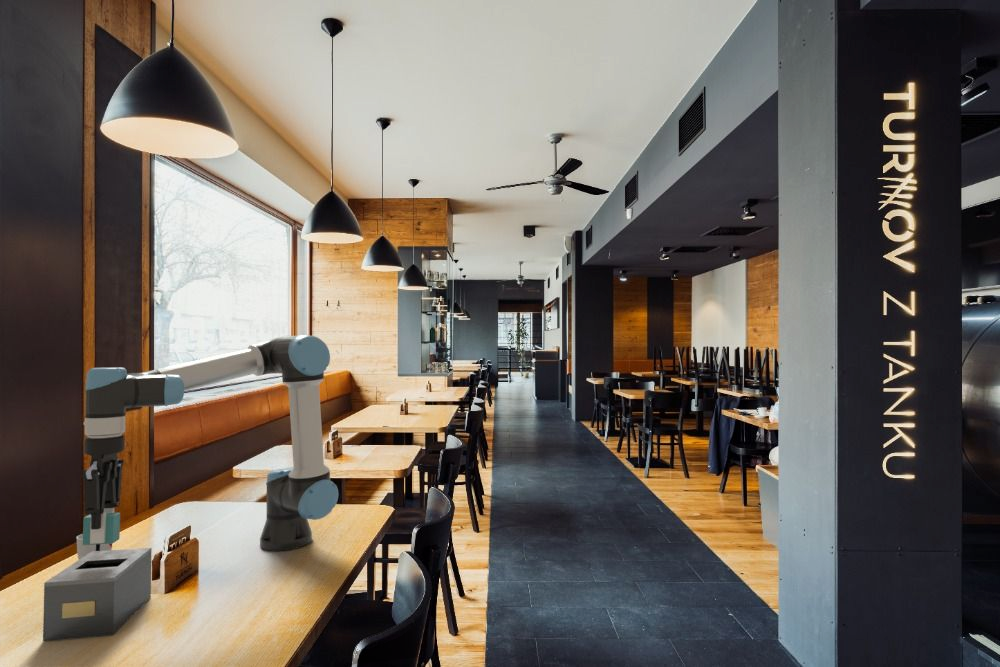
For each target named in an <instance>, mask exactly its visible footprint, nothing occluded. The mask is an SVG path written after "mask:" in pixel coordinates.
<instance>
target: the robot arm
mask: <svg viewBox="0 0 1000 667" xmlns="http://www.w3.org/2000/svg"><path fill="white" fill-rule="evenodd" d="M330 361H331V353H330V349H329V348H328V346H327V344H326V343H325V342H324V341H323V340H322V339H321V338H319V337H317V336H315V335H309V334H299V335H284V336H279V337H275V338H272V339H269V340H266V341H262V342H259V343H255V344H251V345H248V347H247V348H246V349H244V350H242V349H241V350H239V351H235V352H230V353H225V354H219V355H214V356H211V357H207V358H202V359H198V360H193V361H189V362H184V363H178V364H174V365H169V366H166V367H160V368H156V369H153V370H147V371H146V370H145V371H143V372H131V373H128V372H127V369H126V368H125V367H92V368H90V369H89V370H87V373H86V380H85V387H84V390H85V406H84V410H85V411H84V412H85V413H84V414H85V415H84V416H85V417H84V421H83V424H82V425H84V435H85V436H87V437H85V438H84V439H83V454H85V455H87V456H90V457H91V458H90V462H89V468H88V469H83V470H82V472H81V475H82V479H83V480H82V481H83V508H84V514H85V515H86V516H88V515H91V525H90V544H95V543H104V542H105V535H106V513H115V508H119V507H120V506H121V503H120V501H121V493H122V492H121V490H122V489H121V488H122V476H123V467H124V463H125V460H124V459H123V458H122V459H121V458H120V459H119V456H118V454H119V453H123V452H124V451H125V445H126V442H125V441H126V436H125V435H124V433H125V432H126V410H127V409H128V408H129V409H130V408H132V409H133V408H141V407H144V408H145V407H146V408H147V407H160V406H161V407H162V406H164V407H168V406H173V405H174V406H175V405H178V404H180V403H181V402H182V401H183V398H184V395H185V392H187V391H190V390H195V389H199V388H202V387H206V386H207V387H208V386H210V385H215V384H219V383H223V382H227V381H231V380H235V379H239V378H243V377H246V376H247V377H248V376H250V375H254V376H256V377H259V376H264V375H272V374H281V377H282V381H281V382H282V384H283V385H285V386H287V388H288V399H289V401H288V402H289V414H290V415H289V418H290V420H289V421H290V432H291V434H290V435H291V448H292V449H291V450H292V451H291V452H292V460H293V461H292V464H293V466H292V467H290V466H289V467H283V468H279V469H278V468H277V469H274V470H270V471H269V472H268V474H267V477H266V483H265V485H266V518H265V519H266V520H265V523H264V525H263V529H262V531H261V535H260V538H259V547H260V548H261V549H263V550H266V551H270V552H271V551H274V552H276V551H277V552H280V551H289V550H294V549H300V548H302V547H304V546H307V545H308V544H309V543H311V542H312V540H313V538H312V537H313V532H312V529H311V526H310V522H309V520H312V521H313V520H316V521H317V520H321V519H324V518H325V517H327V516H328V515H329V514H331V512H332V510H333V509H334V508H335V507H336V506H337V503H338V500H339V489H338V486H337V484H335V483H334V482H333V481H332V480H331V470H330V467H328V465H326V464H325V460H324V458H325V457H324V445H323V430H322V428H323V426H322V414H321V413H322V412H321V397H320V395H321V394H320V393H321V392H320V385H321V383H322V382H323V381H324V380H325V373H324V372H325V371H326V370H327V368H328V366H329V365H330Z"/></svg>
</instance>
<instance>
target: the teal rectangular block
mask: <svg viewBox="0 0 1000 667" xmlns="http://www.w3.org/2000/svg"><path fill="white" fill-rule="evenodd" d="M82 524H83V525H82V526H83V527H82V534H83V545H94V544H90V525H91V515H86V516H84V517H83V523H82ZM120 530H121V512H114V513H106V535H105V542H104V543H95V544H112V545H113V544H115V542H118V540H120V533H121V532H120Z"/></svg>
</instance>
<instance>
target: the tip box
mask: <svg viewBox="0 0 1000 667" xmlns="http://www.w3.org/2000/svg"><path fill="white" fill-rule="evenodd" d="M43 585H44V586H43V587H44V588H43V621H42V622H43V624H42V625H43V626H42V628H43V629H42V642H43V641H45V642H54V641H55V642H56V641H65V640H74V639H77V640H78V639H87V638H97V637H109V636H110V637H111V636H114V635H115V634H116V633H117V632H118V631H119V630H121V628H122V627H123V626H124V625H125V624H126V623H127V622H128V621H129V620H130V619H131V618H132V617H133V616H134V615H136V613H137V612H138V611H139V610H140V609H141V608H142V607H143V606H144V605H145V604H146V603H147V602H148V601H149V600H150V599H151V598H152V596H151V595H152V589H151V588H152V547H142V548H140V547H139V548H128V549H127V548H125V549H112V550H108V551H93V552H90V553H89V554H87V555H86V556H84V557H83V558H81V559H80V560H79V559H78V560H76V561H75V562H74V563H72V564H71V565H69V566H67V567H66V568H64V569H63V570H62V571H60V572H59V573H57V574H55V575H54V576H53V577H51V578H49V579H48V580H46V581H44V583H43Z"/></svg>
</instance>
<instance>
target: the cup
mask: <svg viewBox="0 0 1000 667" xmlns="http://www.w3.org/2000/svg"><path fill="white" fill-rule="evenodd" d="M108 550H113V544H94V545H83V533H81V534H79V535H77V536H76V551H77V552H76V553H77V557H78V560H80V559H81V558H83V557H84V556H86V555H87V554H89V553H90V552H93V551H108Z"/></svg>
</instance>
